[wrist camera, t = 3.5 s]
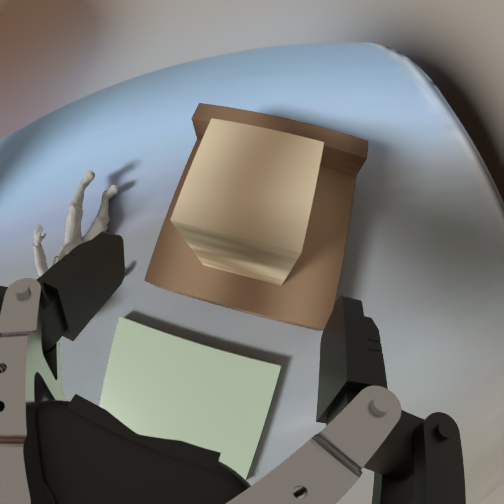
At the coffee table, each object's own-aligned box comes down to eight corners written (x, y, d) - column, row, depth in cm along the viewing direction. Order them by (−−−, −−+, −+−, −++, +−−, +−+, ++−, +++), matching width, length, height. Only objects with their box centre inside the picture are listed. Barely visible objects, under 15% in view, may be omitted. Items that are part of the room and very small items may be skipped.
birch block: (203, 265, 19) (170, 220, 11) (225, 194, 20) (211, 118, 12) (281, 285, 18) (301, 253, 11) (298, 212, 20) (324, 142, 12)
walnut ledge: (158, 287, 21) (129, 272, 16) (208, 145, 24) (199, 103, 19) (317, 330, 21) (339, 330, 15) (347, 178, 24) (368, 141, 18)
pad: (99, 430, 18) (94, 432, 18) (123, 317, 21) (119, 316, 20) (243, 481, 18) (243, 485, 17) (280, 364, 20) (281, 366, 19)
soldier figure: (149, 202, 24) (114, 340, 18) (125, 226, 27) (93, 346, 21) (73, 157, 20) (8, 296, 13) (58, 188, 23) (7, 310, 16)
